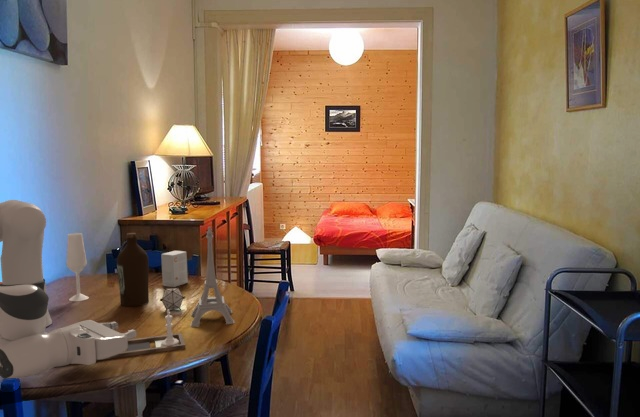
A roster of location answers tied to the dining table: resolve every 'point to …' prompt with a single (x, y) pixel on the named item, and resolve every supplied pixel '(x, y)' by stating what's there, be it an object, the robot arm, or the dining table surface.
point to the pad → (159, 343)
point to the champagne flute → (76, 261)
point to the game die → (172, 298)
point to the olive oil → (133, 273)
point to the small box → (174, 268)
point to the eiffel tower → (205, 301)
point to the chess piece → (169, 332)
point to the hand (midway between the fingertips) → (126, 328)
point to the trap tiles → (138, 346)
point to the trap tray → (151, 350)
